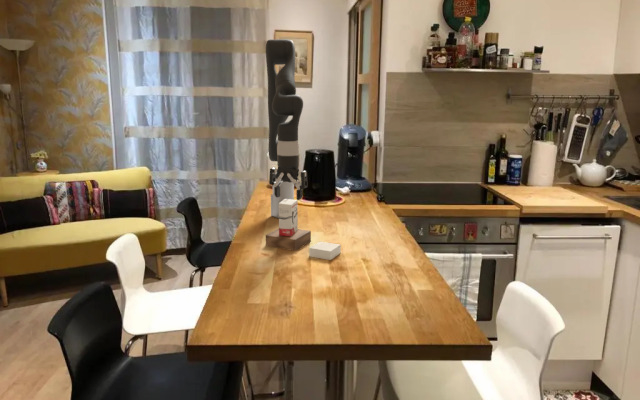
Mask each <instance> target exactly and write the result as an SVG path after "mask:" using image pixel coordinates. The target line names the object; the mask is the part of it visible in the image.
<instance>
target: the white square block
mask: <svg viewBox="0 0 640 400" xmlns="http://www.w3.org/2000/svg"><path fill="white" fill-rule="evenodd" d="M341 248H342V247H341V244H338V243H331V242H325V241H318V242H317V243H314V244H313V245H311V246H310V247H308V249H309V251H308V253H309V255H308V256H309V257H310V258H317V259H322V260H327V261H332V260H333V259H334V258H336V257H337V256H338V255H340V254H341Z"/></svg>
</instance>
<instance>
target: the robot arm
mask: <svg viewBox="0 0 640 400" xmlns="http://www.w3.org/2000/svg"><path fill="white" fill-rule="evenodd" d="M265 60H266V73H267V76H266V77H267V113H268V115H267V117H268V149H267V150H268V158H269V160H270V161H271V162H276V163H277V164H276V165H277V168H276V167H271V168H269V180H268V184H269V185H270V186H272V194H270V216H271V217H273V218H277V219H279V203H280V202H281V201H283V200H284V199H293V200H295V187H296V200H297V201H300V200H302V198H303V191H304V189H307V188H308V186H309V182H308V171H307V170H299V166H300V163H299V161H300V149H299V148H300V146H299V145H300V144H299V126H300V125H299V124H300V119H301V115H302V112H303V108H304V101H303V98H302V97H301V96H300V95H298V94H297V88H296V79H295V78H296V77H295V75H296V74H295V72H296V46H295V43H294V41H293V40H291V39H284V38H283V39H277V38H276V39H268V40H267V41H266V43H265ZM276 65H277V66H278V65H283V67H282V68H281V69H279V71H278V72H277V70H276V68H275V67H276ZM290 116H291V119H290V120H289V121H287V120H288V119H289V117H290ZM299 177H300V178H299Z"/></svg>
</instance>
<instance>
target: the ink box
mask: <svg viewBox="0 0 640 400" xmlns="http://www.w3.org/2000/svg"><path fill="white" fill-rule="evenodd" d="M298 201H299V200H297V199H294V200H293V199H284V200H283V201H281V202H280V203H279V218H278V229H279V236H292V235H293V234H294V233H295V232H296V231H297V230H298V229H299V227H298V220H299V219H298V214H299V213H298Z"/></svg>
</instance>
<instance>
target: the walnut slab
mask: <svg viewBox="0 0 640 400" xmlns="http://www.w3.org/2000/svg"><path fill="white" fill-rule="evenodd" d="M311 239H312V231H311V230H306V229H300V228H298V230H297V231H296V232H295V233H294V234H293V235H292V236H279V228H278V229H275V230H274V231H270V232H269V233H267V234H265V246H266V247H271V248H277V249H282V250H289V251H297V250H299V249H300V248H302V247H304V246H305V245H307V244H309V243H310V242H311Z"/></svg>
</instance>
